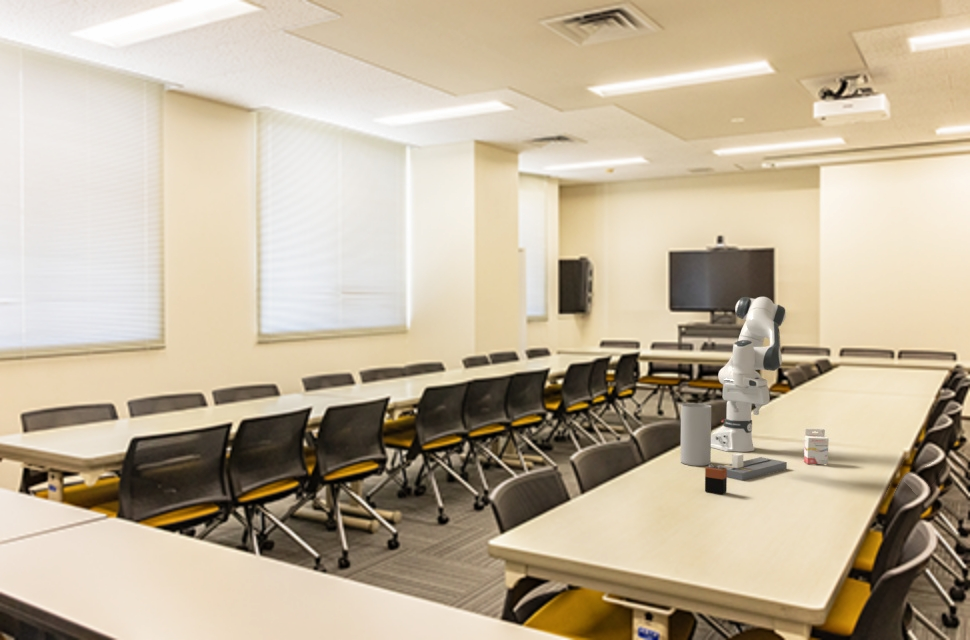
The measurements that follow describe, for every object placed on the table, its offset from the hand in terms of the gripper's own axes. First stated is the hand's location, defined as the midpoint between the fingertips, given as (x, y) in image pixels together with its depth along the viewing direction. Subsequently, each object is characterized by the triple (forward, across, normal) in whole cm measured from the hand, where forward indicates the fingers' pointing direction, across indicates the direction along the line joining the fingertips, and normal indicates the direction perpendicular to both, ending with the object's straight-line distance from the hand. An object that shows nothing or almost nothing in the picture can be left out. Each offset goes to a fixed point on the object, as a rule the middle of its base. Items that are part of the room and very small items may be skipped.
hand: (746, 413), depth 305 cm
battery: (+22, +14, -40) cm, 48 cm away
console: (+24, +3, -2) cm, 24 cm away
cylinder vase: (+23, -21, -7) cm, 32 cm away
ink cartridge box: (+27, +10, +34) cm, 45 cm away
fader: (+22, +3, -12) cm, 25 cm away
